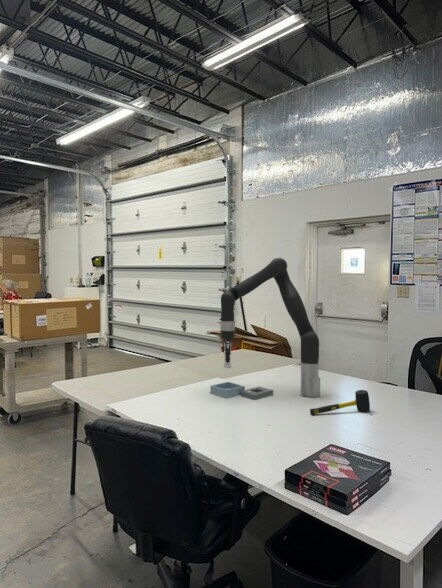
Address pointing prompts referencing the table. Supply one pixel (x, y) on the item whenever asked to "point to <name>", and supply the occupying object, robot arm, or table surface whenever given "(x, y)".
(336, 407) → the mallet
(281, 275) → the robot arm
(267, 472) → the table surface
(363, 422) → the table surface
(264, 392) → the fuse block
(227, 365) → the cylinder
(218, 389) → the parts tray
